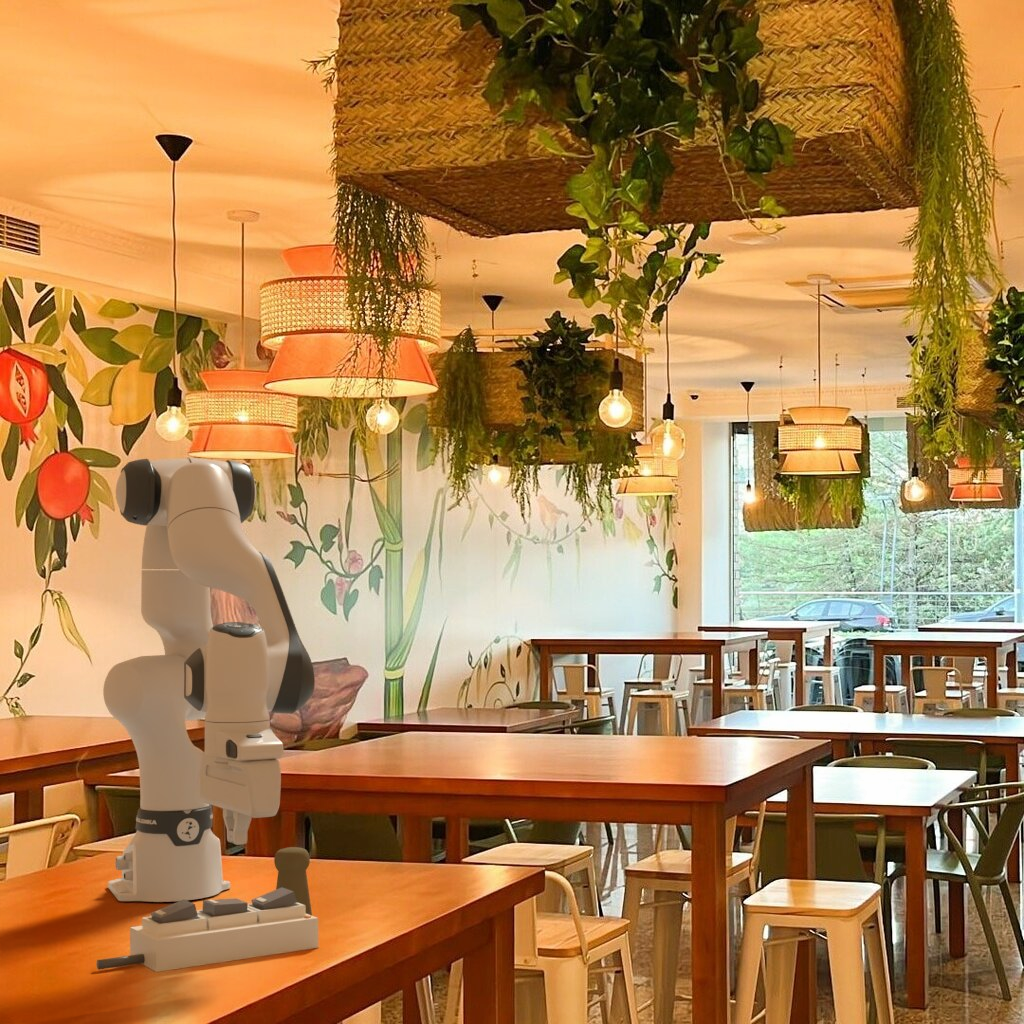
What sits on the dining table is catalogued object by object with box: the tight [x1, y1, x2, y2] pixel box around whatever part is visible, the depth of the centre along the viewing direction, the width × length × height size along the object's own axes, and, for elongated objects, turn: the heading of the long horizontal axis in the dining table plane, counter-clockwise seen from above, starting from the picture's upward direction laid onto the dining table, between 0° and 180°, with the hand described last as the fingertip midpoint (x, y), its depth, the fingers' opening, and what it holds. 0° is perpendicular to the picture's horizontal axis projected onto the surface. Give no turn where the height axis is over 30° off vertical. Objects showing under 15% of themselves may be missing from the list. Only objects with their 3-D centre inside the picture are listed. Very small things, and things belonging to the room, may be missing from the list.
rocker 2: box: [202, 897, 249, 917], centre depth 209 cm, size 4×5×2 cm
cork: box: [273, 846, 313, 916], centre depth 228 cm, size 6×6×11 cm
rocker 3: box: [251, 887, 297, 910], centre depth 213 cm, size 4×5×2 cm
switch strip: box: [96, 902, 319, 973], centre depth 208 cm, size 10×29×6 cm, turn 123°
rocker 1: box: [150, 900, 198, 924], centre depth 206 cm, size 4×5×2 cm
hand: (237, 843), depth 211 cm, fingers closed
